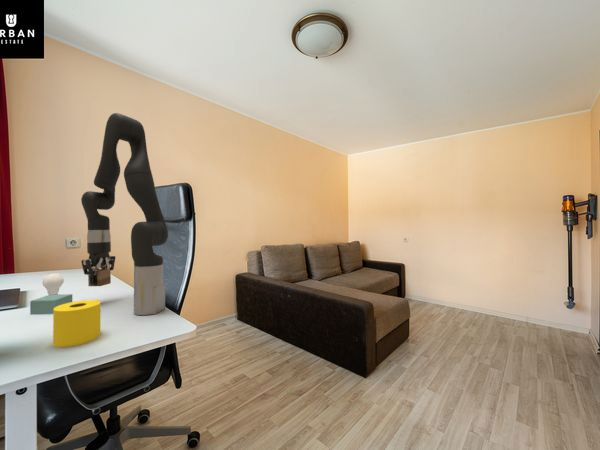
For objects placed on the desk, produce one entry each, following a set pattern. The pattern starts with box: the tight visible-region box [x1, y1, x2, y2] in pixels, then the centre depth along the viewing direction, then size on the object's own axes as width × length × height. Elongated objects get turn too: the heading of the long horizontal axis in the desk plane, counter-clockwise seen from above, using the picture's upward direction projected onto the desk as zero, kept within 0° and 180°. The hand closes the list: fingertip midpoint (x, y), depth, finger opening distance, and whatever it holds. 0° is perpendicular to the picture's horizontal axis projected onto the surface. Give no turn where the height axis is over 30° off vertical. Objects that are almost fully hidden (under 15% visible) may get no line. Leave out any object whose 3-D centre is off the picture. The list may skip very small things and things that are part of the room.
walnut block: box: [87, 268, 112, 287], centre depth 103 cm, size 5×5×6 cm
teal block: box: [29, 293, 73, 315], centre depth 95 cm, size 8×8×5 cm
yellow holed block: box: [52, 299, 102, 348], centre depth 72 cm, size 10×10×9 cm
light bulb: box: [41, 272, 65, 295], centre depth 109 cm, size 7×7×11 cm
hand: (99, 283), depth 103 cm, fingers closed on walnut block, 5 cm apart
